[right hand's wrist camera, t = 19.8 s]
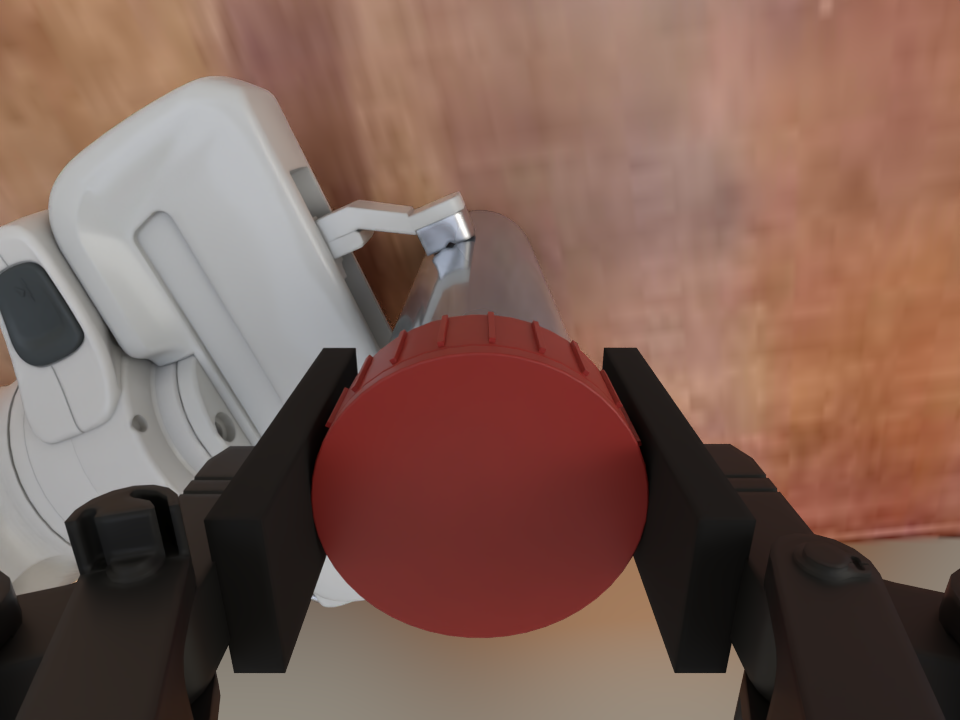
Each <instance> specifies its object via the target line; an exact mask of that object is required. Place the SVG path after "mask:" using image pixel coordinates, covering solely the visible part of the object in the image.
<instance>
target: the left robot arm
mask: <svg viewBox="0 0 960 720" xmlns="http://www.w3.org/2000/svg"><path fill="white" fill-rule="evenodd" d="M374 231H382V232H391V233H400V234H410V235H416V234H417V236H418V238H419V240H420V242H421V244H422V246H423V248H424V250H425V252H426V254H427V256H430V255H432V254H435V253H437V252H439V251H441V250H443V249H445V248H446V247H447V245H448V244H449V242H451V243H455V244H456V243H459V242H463V241H465V240H467V239H469V238H471V237H472V236H474V235H475V228H474V225H473V223H472V220H471V218H470V215H469V213H468V210H467V207H466V205H465V203H464V200H463V198H462V196H461V193H460V191H458V192H455V193H451V194H449V195H447V196H445V197H442V198H440V199H438V200H435V201H433V202H431V203H428V204H426V205H424V206H422V207H419V208H417V209H415V210H414V209H413V207H412V206H405V205H397V204H390V203H382V202H375V201H367V200H356V201H354V202H352V203H350V204H347V205H345V206H343V207H341V208H338V209H336V210H334V211H332V209H331V207H330V205H329V203H328V201H327V199H326V197H325V195H324V193H323V191H322V189H321V187H320V185H319V183H318V181H317V179H316V177H315V175H314V173H313V171H312V169H311V167H310V165H309V163H308V161H307V159H306V157H305V155H304V153H303V151H302V149H301V147H300V145H299V143H298V141H297V139H296V137H295V135H294V133H293V131H292V129H291V127H290V125H289V123H288V121H287V119H286V117H285V115H284V113H283V111H282V109H281V107H280V105H279V103H278V101H277V100H276V98H275V97H274V95H273V94H272V93H271V92H269V91H268V90H266V89H264V88H261V87H259V86H256V85H254V84H251V83H249V82H246V81H243V80H239V79H236V78H232V77H226V76H207V77H202V78H198V79H196V80H193V81H190V82H188V83H186V84H184V85H182V86H180V87H178V88H176V89H174V90H172V91H171V92H169V93H167V94H165V95H163V96H162V97H160V98H158V99H156V100H155V101H153V102H151V103H150V104H148V105H146V106H145V107H143V108H142V109H140V110H138V111H137V112H135V113H134V114H132V115H130V116H129V117H127V118H126V119H125V120H123V121H122V122H120V123H119V124H117V125H116V126H114V127H113V128H111V129H110V130H108V131H107V132H106V133H104V134H103V135H102V136H100V137H99V138H98V139H96V140H95V141H94V142H92V143H91V144H90V145H88V146H87V147H86V148H85V149H83V150H82V151H81V152H80V153H78V154H77V155H76V156H75V157H74V158H73V159H72V160H71V161H70V162H69V163H68V164H67V165H66V166H65V167H64V168H63V170H62V171H61V172H60V174H59V175H58V177H57V179H56V180H55V182H54V185H53V187H52V190H51V193H50V197H49V205H48V209H46V210H43V211H40V212H36V213H33V214H30V215H27V216H24V217H21V218H19V219H17V220H14V221H12V222H10V223H7V224H5V225H2V226H0V328H1V331H2V333H3V336H4V339H5V342H6V345H7V348H8V351H9V354H10V357H11V360H12V364H13V368H14V371H15V375H16V378H17V379H16V380H15V381H14V382H13V383H12V384H10V385H8V386H0V571H1V572H3V573H4V574H6V575H7V576H8V577H10V580H11V582H12V585H13V588H14V591H15V594H16V595H21V594H26V593H31V592H35V591H40V590H45V589H50V588H54V587H59V586H64V585H68V584H71V583H73V582H74V581H76V580H77V579H78V578H79V576H80V573H79V570H78V566H77V563H76V560H75V556H74V553H73V550H72V546H71V543H70V540H69V537H68V533H67V530H66V527H65V523H64V522H65V521H66V520H67V518H68V517H69V516H70V515H71V514H72V513H73V512H74V510H76V509H77V508H79V507H80V506H82V505H83V504H85V503H87V502H88V501H90V500H91V499H93V498H96V497H98V496H101V495H103V494H105V493H108V492H110V491H113V490H117V489H121V488H126V487H130V486H135V485H158V486H163V487H168V488H170V489H171V490H173V491H174V492H175V493H177V494H178V497H179V495H180V494H183V490H184V489H185V488H186V487H187V485H188V484H189V483H190V482H191V480H194V477H195V475H196V474H197V473H198V472H199V470H200V469H201V468H202V467H203V466H204V464H205V463H206V462H207V461H208V460H209V459H211V458H212V457H214V456H215V455H217V454H218V453H220V452H222V451H223V450H225V449H226V448H228V447H229V446H255V445H256V444H257V442H258V441H259V440H260V438H261V437H262V435H263V434H264V432H265V431H266V430H267V428H268V427H269V425H270V424H271V422H272V421H273V419H274V418H275V417H276V415H277V414H278V412H279V411H280V409H281V408H282V407H283V405H284V404H285V402H286V401H287V399H288V398H289V396H290V395H291V394H292V392H293V391H294V389H295V388H296V386H297V385H298V384H299V382H300V381H301V379H302V378H303V376H304V375H305V373H306V372H307V371H308V369H309V368H310V366H311V365H312V363H313V362H314V361H315V359H316V358H317V356H318V355H319V353H320V352H321V351H322V349H323V348H356V356H357V369H358V373H359V372H360V370H361V367H362V365H363V363H364V361H365V359H366V358H367V357H368V356H369V355H371V356H372V357H373V356H374V355H375V354H376V353H377V352H378V351H379V350H380V349H382V348H383V347H385V346H386V345H387V344H388V342H389V340H390V338H391V335H392V333H393V331H392V329H391V327H390V325H389V323H388V321H387V319H386V317H385V315H384V313H383V311H382V309H381V307H380V305H379V303H378V301H377V299H376V297H375V295H374V293H373V291H372V289H371V287H370V285H369V283H368V281H367V279H366V277H365V275H364V273H363V271H362V269H361V267H360V265H359V263H358V261H357V259H356V257H355V255H354V253H353V251H355V250H357V249H359V248H362V247H363V246H364V245H365V244H366V243H367V242H368V241H369V239H370V238H371V237H372V236H373V234H374ZM311 600H312V601H315V602H318V603H320V604H321V605H322V606H324V607H337V606H341V605H344V604H347V603H350V602H353V601H361V600H365V599H363V598H362V597H361V596H360V595H359V594H358V593H356V592H355V591H354V590H353V589H352V588H351V587H350V586H349V585H348V584H347V583H346V582H345V580H344V579H343V578H342V577H341V575H340V574H339V573H338V572H337V570H336V569H335V568H334V566H333V565H332V563H331V561H330V560H329V558H328V556H326V559H325V562H324V565H323V567H322V570H321V573H320V576H319V579H318V582H317V584H316V587H315V590H314V593H313V596H312V599H311Z"/></svg>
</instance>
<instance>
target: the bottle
mask: <svg viewBox="0 0 960 720" xmlns="http://www.w3.org/2000/svg"><path fill="white" fill-rule="evenodd" d="M468 213H469V215H470V218H471V220H472V223H473V225H474V228H475V235H474V236H472V237H471V238H469V239H467V240H465V241H463V242H459V243H456V244H455V243H451V242H449V244H448V245H447V247H446V248H445V249H443V250H441V251H439V252H437V253H435V254H432V255H430V256H427V254H425V256H424V258H423V261H422V263H421V266H420V268H419V270H418V273H417V275H416V278H415V280H414V282H413V285H412V287H411V290H410V292H409V294H408V297H407V299H406V302H405V304H404V306H403V309H402V311H401V314H400V316H399V318H398V321H397V323H396V326H395V328H394V330H393V333H392V335H391V338H390V340H389V342H388V344H389V343H390V342H391V341H393V340H394V339H396V338H397V337H398V336H399V334H400V332H401V331H403V330H406V332H408V331H410V330H412V329H414V328H417V327H419V326H422V325H425V324H427V323H430V322H433V321H437V320H441V319H442V316H443V315H448V318H449V317H455V316H464V315H488V312H494V315H496V316H504V317H511V318H515V319H519V320H523V321H526V322H530V323H532V322H533V320H534V321H537V322H539V326H540V327H543V328H545V329H548V330H550V331H552V332H554V333H555V334H557V335H559V336H560V337H562V338H564V339H566V340H567V341H569V342H570V343H571V340H570V338H569V335H568V333H567V330H566V328H565V326H564V323H563V321H562V318H561V316H560V314H559V311H558V309H557V306H556V304H555V302H554V299H553V297H552V294H551V292H550V290H549V287H548V285H547V282H546V280H545V278H544V275H543V273H542V270H541V268H540V265H539V263H538V261H537V258H536V256H535V253H534V251H533V249H532V246H531V244H530V242H529V240H528V238H527V236H526V235H525V233H524V232H523V231H522V229H521V228H520V227H519V226H518V225H517V224H516V223H515V222H513V221H512V220H510V219H509V218H507V217H505V216H503V215H501V214H498V213H495V212H491V211H483V210H477V211H469V212H468Z"/></svg>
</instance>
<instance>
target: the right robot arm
mask: <svg viewBox="0 0 960 720" xmlns="http://www.w3.org/2000/svg"><path fill="white" fill-rule="evenodd" d="M602 370H604V371H605V372H606V374H607V376H608V378H609V380H610V382H611V384H612V386H613V388H614V390H615V392H616V393H617V395H618V397H619V399H620V401H621V403H622V405H623V407H624V409H625V411H626V413H627V415H628V417H629V419H630V421H631V423H632V425H633V427H634V429H635V431H636V432H637V434H638V436H639V438H640V440H641V444H642V445H641V446H639V448H640V451H641V453H642V456H643V459H644V462H645V466H646V472H647V477H648V484H649V503H648V510H647V518H646V523H645V526H644V530H643V533H642V536H641V539H640V542H639V544H638V546H637V548H636V550H635V552H634V555H633V556H634V559H635V562H636V565H637V568H638V571H639V573H640V576H641V579H642V582H643V585H644V587H645V590H646V593H647V596H648V599H649V602H650V604H651V607H652V610H653V613H654V616H655V619H656V621H657V624H658V627H659V630H660V633H661V636H662V638H663V641H664V644H665V647H666V649H667V652H668V655H669V658H670V661H671V664H672V667H673V669H674V672H675V673H726V669H727V664H728V659H729V654H730V649H731V644H733V646H734V648H735V650H736V652H737V655H738V657H739V659H740V661H741V663H742V665H743V667H744V669H745V670H744V674H743V679H742V684H741V688H740V693H739V697H738V702H737V707H736V711H735V716H734V720H960V569H959V570H957V571H956V572H954V573H953V574H952V575H951V576H950V579H949V582H948V585H947V588H946V590H945V593H942V592H937V591H933V590H928V589H923V588H918V587H913V586H909V585H904V584H899V583H894V582H891V581H887V580H883V579H882V577H881V575H880V573H879V572H878V571H877V569H876V568H875V567H874V565H873V564H872V563H871V561H870V560H868V559H867V558H866V557H864V556H863V555H862V554H860V553H859V552H858V551H856V550H855V549H853V548H851V547H849V546H847V545H845V544H843V543H841V542H839V541H836V540H834V539H830V538H827V537H823V536H819V535H815V534H814V533H813V532H812V531H811V530H810V528H809V527H808V526H807V525H806V523H805V522H804V521H803V520H802V519H801V517H800V516H799V515H798V514H797V512H796V511H795V510H794V509H793V507H792V506H791V505H790V504H789V503H788V501H787V500H786V499H785V498H784V496H783V495H782V494H781V493H780V492H777V488H776V487H775V485H774V484H773V483H772V482H771V480H770V479H769V478H766V474H765V473H764V472H763V471H762V469H761V468H760V467H759V466H758V464H757V463H756V462H755V461H754V459H753V458H751V457H750V456H748V455H747V454H745V453H743V452H742V451H740V450H739V449H737V448H735V447H734V446H732V445H731V444H703V443H702V441H701V440H700V438H699V437H698V435H697V434H696V433H695V431H694V430H693V428H692V427H691V425H690V424H689V423H688V421H687V420H686V418H685V417H684V415H683V414H682V412H681V411H680V410H679V408H678V407H677V405H676V404H675V402H674V401H673V400H672V398H671V397H670V395H669V394H668V392H667V391H666V389H665V388H664V387H663V385H662V384H661V382H660V381H659V379H658V378H657V377H656V375H655V374H654V372H653V371H652V369H651V368H650V366H649V365H648V364H647V362H646V361H645V359H644V358H643V356H642V355H641V354H640V352H639V351H638V349H637V348H604V355H603V368H602ZM357 375H358V369H357V356H356V348H323V349H322V351H321V352H320V353H319V355H318V356H317V358H316V359H315V361H314V362H313V363H312V365H311V366H310V368H309V369H308V371H307V372H306V373H305V375H304V376H303V378H302V379H301V381H300V382H299V384H298V385H297V386H296V388H295V389H294V391H293V392H292V394H291V395H290V396H289V398H288V399H287V401H286V402H285V404H284V405H283V407H282V408H281V409H280V411H279V412H278V414H277V415H276V417H275V418H274V419H273V421H272V422H271V424H270V425H269V427H268V428H267V430H266V431H265V432H264V434H263V435H262V437H261V438H260V440H259V441H258V442H257V444H256V445H255V446H229V447H228V448H226V449H225V450H223V451H222V452H220V453H218V454H217V455H215V456H214V457H212V458H211V459H209V460H208V461H207V462H206V463H205V464H204V466H203V467H202V468H201V469H200V470H199V472H198V473H197V474H196V475H195V477H194V480H191V482H190V483H189V484H188V485H187V487H186V488H185V489H184V490H183V494H180V495H179V497H178V494H177V493H175V492H174V491H173V490H171V489H170V488H168V487H163V486H158V485H135V486H130V487H126V488H121V489H117V490H113V491H110V492H108V493H105V494H103V495H101V496H98V497H96V498H93V499H91V500H90V501H88V502H87V503H85V504H83V505H82V506H80V507H79V508H77V509H76V510H74V512H73V513H72V514H71V515H70V516H69V517H68V518H67V520H66V521H65V522H64V523H65V527H66V530H67V533H68V537H69V540H70V543H71V546H72V550H73V553H74V556H75V560H76V563H77V566H78V570H79V573H80V576H79V578H78V581H77V582H75V583H72V584H68V585H64V586H59V587H54V588H50V589H45V590H40V591H35V592H31V593H26V594H21V595H16V594H15V591H14V588H13V585H12V582H11V580H10V577H8V576H7V575H6V574H4V573H3V572H1V571H0V720H218V712H219V703H220V690H219V684H218V679H217V674H216V670H217V668H218V666H219V664H220V661H221V659H222V657H223V655H224V653H225V651H226V649H227V647H228V645H229V650H230V654H231V659H232V664H233V669H234V673H285V672H286V669H287V666H288V663H289V661H290V658H291V655H292V652H293V649H294V647H295V644H296V641H297V638H298V635H299V632H300V630H301V627H302V624H303V621H304V618H305V615H306V613H307V610H308V607H309V604H310V601H311V599H312V596H313V593H314V590H315V587H316V584H317V582H318V579H319V576H320V573H321V570H322V567H323V565H324V562H325V559H326V556H327V555H326V553H325V551H324V549H323V546H322V544H321V542H320V539H319V537H318V534H317V531H316V527H315V523H314V519H313V512H312V503H311V484H312V475H313V470H314V466H315V461H316V458H317V455H318V453H319V450H320V447H321V445H322V442H323V440H324V438H325V436H326V434H327V432H328V430H329V428H328V427H326V426H325V425H326V423H327V421H328V419H329V417H330V415H331V413H332V411H333V409H334V408H335V406H336V404H337V402H338V400H339V398H340V396H341V394H342V392H343V390H344V388H345V387H346V388H348V389H349V388H350V386H351V384H352V383H353V381H354V379H355V377H356V376H357Z"/></svg>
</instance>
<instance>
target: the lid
mask: <svg viewBox="0 0 960 720" xmlns="http://www.w3.org/2000/svg"><path fill="white" fill-rule="evenodd" d="M325 426H326V427H328V428H329V430H328V432H327V434H326V436H325V438H324V440H323V442H322V445H321V447H320V450H319V453H318V455H317V458H316V461H315V466H314V470H313V475H312V484H311V503H312V512H313V519H314V523H315V527H316V531H317V534H318V537H319V539H320V542H321V544H322V546H323V549H324V551H325V553H326V555H327V556H328V558H329V560H330V561H331V563H332V565H333V566H334V568H335V569H336V570H337V572H338V573H339V574H340V575H341V577H342V578H343V579H344V580H345V582H346V583H347V584H348V585H349V586H350V587H351V588H352V589H353V590H354V591H355V592H356V593H358V594H359V595H360V596H361V597H362V598H363V599H365V600H366V601H367V602H369V603H370V604H371V605H373V606H374V607H376V608H377V609H379V610H381V611H382V612H384V613H386V614H387V615H389V616H391V617H393V618H395V619H397V620H399V621H402V622H404V623H406V624H408V625H411V626H414V627H417V628H420V629H423V630H426V631H430V632H434V633H439V634H443V635H448V636H457V637H466V638H492V637H504V636H511V635H516V634H521V633H527V632H530V631H533V630H537V629H540V628H543V627H546V626H549V625H551V624H554V623H556V622H558V621H561V620H563V619H565V618H567V617H569V616H571V615H572V614H574V613H576V612H578V611H580V610H581V609H583V608H584V607H585V606H587V605H588V604H590V603H591V602H592V601H594V600H595V599H597V598H598V597H599V596H600V595H601V594H602V593H603V592H604V591H605V590H607V589H608V588H609V587H610V586H611V585H612V584H613V582H614V581H615V580H616V579H617V578H618V577H619V575H620V574H621V573H622V572H623V570H624V569H625V567H626V566H627V564H628V563H629V561H630V560H631V558H632V556H633V555H634V552H635V550H636V548H637V546H638V544H639V542H640V539H641V536H642V533H643V530H644V526H645V523H646V518H647V510H648V503H649V484H648V477H647V472H646V466H645V462H644V459H643V456H642V453H641V451H640V448H639V446H641V445H642V444H641V440H640V438H639V436H638V434H637V432H636V431H635V429H634V427H633V425H632V423H631V421H630V419H629V417H628V415H627V413H626V411H625V409H624V407H623V405H622V403H621V401H620V399H619V397H618V395H617V393H616V392H615V390H614V388H613V386H612V384H611V382H610V380H609V378H608V376H607V374H606V372H605V371H604V370H601V371H599V370H598V368H597V367H596V366H595V365H594V364H593V362H592V361H591V360H590V359H589V358H588V357H587V356H586V355H585V354H584V353H583V352H582V351H580V349H579V346H578V344H577V343H576V342H575V341H572V342H571V343H570V342H569V341H567V340H566V339H564V338H562V337H560V336H559V335H557V334H555V333H554V332H552V331H550V330H548V329H545V328H543V327H540V326H539V322H537V321H534V320H533V322H532V323H530V322H526V321H523V320H519V319H515V318H511V317H504V316H496V315H494V312H488V315H464V316H455V317H449V318H448V315H443V316H442V319H441V320H437V321H433V322H430V323H427V324H425V325H422V326H419V327H417V328H414V329H412V330H410V331H408V332H406V330H403V331H401V332H400V334H399V336H398V337H397V338H396V339H394V340H393V341H391V342H390V343H389V344H387V345H386V346H385V347H383V348H382V349H380V350H379V351H378V352H377V353H376V354H375V355H374V356H373V357H372V356H371V355H369V356H368V357H367V358H366V359H365V361H364V363H363V365H362V367H361V370H360V372H359V373H358V375H357V376H356V377H355V379H354V381H353V383H352V384H351V386H350V388H349V389H348V388H346V387H345V388H344V390H343V392H342V394H341V396H340V398H339V400H338V402H337V404H336V406H335V408H334V409H333V411H332V413H331V415H330V417H329V419H328V421H327V423H326V425H325Z"/></svg>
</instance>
